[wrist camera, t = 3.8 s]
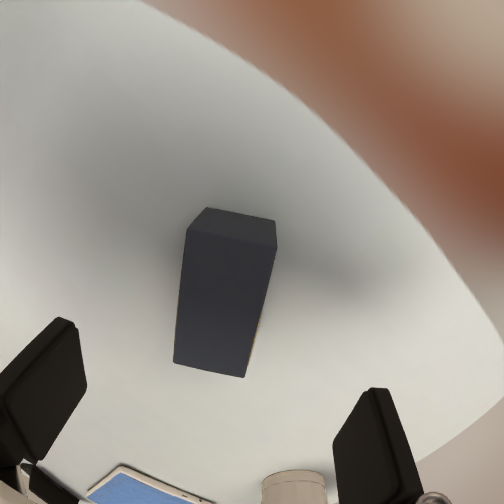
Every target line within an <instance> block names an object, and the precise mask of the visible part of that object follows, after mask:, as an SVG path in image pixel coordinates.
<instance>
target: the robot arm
mask: <svg viewBox="0 0 504 504" xmlns="http://www.w3.org/2000/svg"><path fill="white" fill-rule="evenodd" d="M86 389H87V381H86V376H85V371H84V365H83V359H82V353H81V346H80V339H79V331H78V329H77V328H76V327H75V324H74V323H73V322H72V321H69V320H66V319H64V318H61V317H57V318H55V319H54V320H53V321H52V322H51V323H50V324H49V325H48V326H47V327H46V328H45V329H44V330H43V331H42V332H41V333H40V334H38V335H37V336H36V337H35V338H34V339H33V340H32V341H31V342H30V343H29V344H28V345H27V346H26V347H25V348H24V349H23V350H22V351H21V352H20V353H19V354H18V355H17V356H16V357H15V358H14V359H13V361H12V362H11V363H10V364H9V365H8V366H7V367H6V368H5V369H4V370H3V371H2V372H1V373H0V504H37V503H35V502H34V501H32V500H30V499H28V496H27V492H26V489H25V485H24V481H23V476H22V472H21V467H20V463H21V461H22V460H23V458H24V459H26V460H27V461H29V462H30V463H32V464H34V465H36V464H37V462H38V460H40V461H41V460H43V459H44V458H45V456H46V454H47V453H48V451H49V449H50V448H51V446H52V444H53V443H54V441H55V440H56V438H57V436H58V435H59V433H60V432H61V430H62V428H63V427H64V425H65V424H66V422H67V420H68V419H69V417H70V416H71V414H72V413H73V411H74V409H75V408H76V406H77V405H78V403H79V402H80V400H81V399H82V397H83V396H84V394H85V392H86ZM332 448H333V456H334V464H335V472H336V480H337V489H338V497H339V504H452V503H451V501H450V500H449V499H448V498H447V497H446V496H445V495H443V494H441V493H438V492H429V493H425V494H424V491H423V487H422V484H421V481H420V478H419V475H418V471H417V468H416V465H415V462H414V459H413V456H412V452H411V449H410V446H409V444H408V441H407V438H406V435H405V432H404V430H403V427H402V424H401V422H400V419H399V416H398V413H397V410H396V408H395V405H394V402H393V400H392V397H391V394H390V392H389V390H388V389H387V388H373V387H372V388H370V389H369V390H368V391H365V392H363V394H362V395H361V397H360V399H359V400H358V402H357V404H356V405H355V407H354V409H353V410H352V412H351V414H350V415H349V417H348V418H347V420H346V422H345V423H344V425H343V426H342V428H341V429H340V431H339V432H338V434H337V436H336V437H335V439H334V441H333V446H332Z"/></svg>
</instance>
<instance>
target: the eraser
mask: <svg viewBox="0 0 504 504" xmlns="http://www.w3.org/2000/svg"><path fill="white" fill-rule="evenodd" d="M276 251H277V238H276V226H275V221H272V220H268V219H263V218H258V217H253V216H248V215H244V214H239V213H234V212H229V211H224V210H219V209H213V208H208V207H206V208H205V209H204V210H203V211H202V213H201V214H200V215H199V216H198V217H197V218H196V219H195V220H194V221H193V223H192V224H191V225H190V226H189V227H188V228H187V232H186V239H185V247H184V255H183V263H182V271H181V280H180V289H179V296H178V306H177V316H176V328H175V340H174V356H173V362H174V363H176V364H180V365H184V366H188V367H192V368H197V369H201V370H206V371H210V372H215V373H220V374H225V375H230V376H235V377H241V378H244V377H245V373H246V370H247V366H248V364H249V361H250V357H251V353H252V349H253V346H254V342H255V338H256V334H257V330H258V326H259V323H260V319H261V315H262V308H263V304H264V300H265V296H266V292H267V288H268V284H269V280H270V276H271V272H272V268H273V264H274V260H275V255H276Z"/></svg>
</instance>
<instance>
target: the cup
mask: <svg viewBox="0 0 504 504" xmlns="http://www.w3.org/2000/svg"><path fill="white" fill-rule="evenodd" d="M261 504H328V499H327V494H326V490H325V481H324V477H323V476H322V475H321V474H319V473H317V472H313V471H307V470H292V471H284V472H279V473H276V474H273V475H271V476H269V477H267V478H266V479H265V480H264V481H263V483H262V501H261Z"/></svg>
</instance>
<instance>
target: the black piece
mask: <svg viewBox="0 0 504 504" xmlns="http://www.w3.org/2000/svg"><path fill="white" fill-rule="evenodd" d="M20 467H21V469H22V470H24V471H25V472H26V473H27V474H28V475H29V476H30V481H29V489H30V491H31V492H33V493H34V494H35V495H37V496H38V497H39V498H41V499H42V500H43V501H45V502H46V503H48V504H78V502H79V500H78V499H77V498H76V497H74V496H73V495H71V494H70V493H69V492H67V491H66V490H64V489H63V488H61V487H60V486H58V485H57V484H56V483H54V482H53V481H52V480H51V479H50V478H49V477H48V476H46V475H45V474H44V473H43V472H42V471H40V470H39V469H38V468H37V467H36V466H34V465H29V464H22V463H21V465H20Z"/></svg>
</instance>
